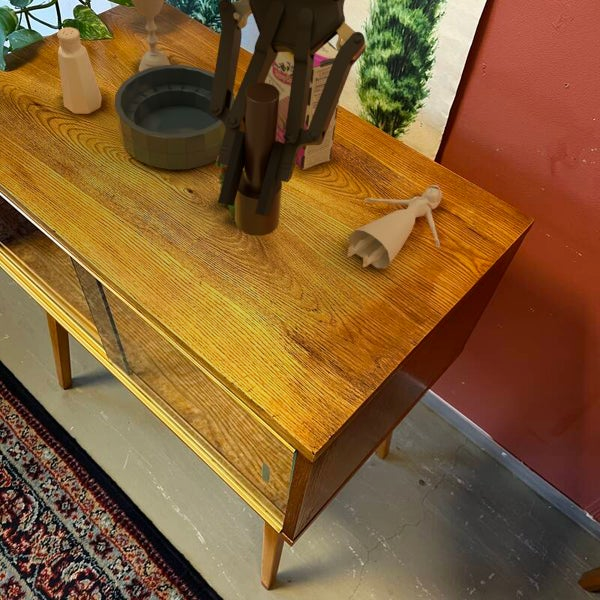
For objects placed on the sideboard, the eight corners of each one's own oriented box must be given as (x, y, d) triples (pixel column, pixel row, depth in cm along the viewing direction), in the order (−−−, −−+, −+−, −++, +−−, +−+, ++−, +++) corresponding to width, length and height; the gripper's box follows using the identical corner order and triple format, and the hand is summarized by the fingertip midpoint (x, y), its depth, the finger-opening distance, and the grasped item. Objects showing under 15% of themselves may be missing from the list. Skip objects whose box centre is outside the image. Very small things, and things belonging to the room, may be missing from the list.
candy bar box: (260, 125, 95) (264, 17, 82) (290, 115, 97) (298, 8, 84) (301, 173, 90) (312, 66, 77) (332, 162, 92) (347, 55, 79)
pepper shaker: (96, 88, 97) (82, 17, 89) (107, 109, 95) (94, 38, 86) (59, 96, 96) (41, 25, 87) (69, 118, 93) (52, 47, 84)
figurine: (228, 184, 87) (227, 134, 81) (273, 245, 82) (276, 196, 75) (206, 191, 86) (204, 141, 80) (251, 253, 80) (252, 205, 74)
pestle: (229, 231, 65) (229, 103, 53) (241, 200, 68) (243, 72, 56) (273, 240, 65) (282, 113, 53) (283, 209, 68) (294, 82, 56)
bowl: (103, 161, 88) (96, 124, 83) (143, 92, 98) (138, 56, 93) (217, 183, 87) (216, 147, 83) (246, 112, 97) (247, 76, 92)
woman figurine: (321, 219, 78) (405, 156, 88) (315, 246, 82) (398, 182, 92) (401, 273, 74) (480, 200, 84) (392, 298, 78) (469, 226, 88)
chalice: (162, 50, 104) (150, -70, 90) (188, 70, 102) (180, -50, 87) (122, 66, 101) (103, -56, 87) (148, 88, 98) (133, -34, 84)
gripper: (405, -21, 59) (332, 233, 63) (238, -60, 61) (176, 188, 65) (405, -56, 52) (322, 234, 55) (215, -100, 54) (147, 183, 57)
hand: (244, 209), depth 60 cm, fingers closed on pestle, 3 cm apart
